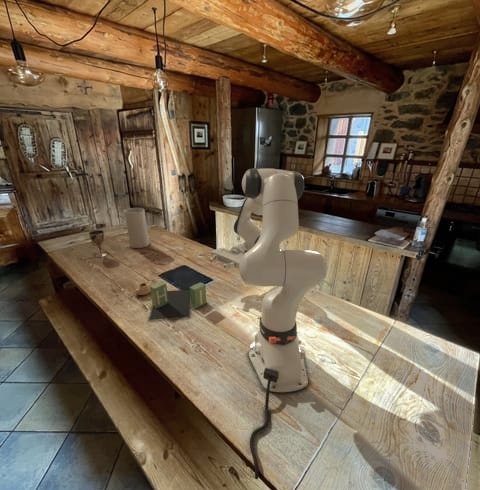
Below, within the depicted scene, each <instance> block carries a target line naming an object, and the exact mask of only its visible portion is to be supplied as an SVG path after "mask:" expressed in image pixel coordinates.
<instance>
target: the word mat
mask: <svg viewBox="0 0 480 490" xmlns="http://www.w3.org/2000/svg"><path fill="white" fill-rule="evenodd" d="M167 294H168V302H169V303H167V304H165V305H163V306H161V307H159V308H156V307H154V306H153V305H152V310H151V313H150V316H149V321H155V320H169V319H182V318H183V319H184V318H190V310H191V309H190V308H191V307H190V306H191V297H190V289H180V290H177V289H176V290H167Z"/></svg>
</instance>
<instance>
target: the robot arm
mask: <svg viewBox="0 0 480 490" xmlns="http://www.w3.org/2000/svg"><path fill="white" fill-rule="evenodd" d="M241 187H242V189H241V190H242V191H243V195H244V196H245V197H246V198H245V199H244V200H243V202H242V205H241V208H240V210H239V213H238V216H237V218H236V220H235V222H234V224H233V231H234V233H235V234H236V235H237V236H239V237H240V238H241V239H242V240H243V241H245V242H243V243H240V244H237V245H235V246H233V247H231V248H230V249H227V248H225V247H220V248H216V249H213V250H211V257H210V258H209V262H210V263H214V262H215V261H216V260H217V261H219V262H221V263H224V264H223V268H224V269H226V270H227V269H231V268H233V269H237V270H238V272H239V276H240V278H241V280H242V281H243V283H245V284H247V285H250V286H256V287H276V288H275V289H272V290H271V291H269V292H268V293H267V294H266V295H265V296H264V297H263V298H262V301H261V316H260V319H259V325H258V326H259V330H258V331H257V332H256V334H254V341H253V343H252V344H250V348H253V349H252V350H250V351H249V352H248V357H249V359H250V362H251V364H252V366H253V368H254V371H255V372H256V374H257V376H258V379H259V381H260V382H261V385H262V387H263V389H264V390H266V391H265V401H264V414H265V415H264V416H265V420H264V424H263V425H261V426H260V427H258V428H255V430H253V431H252V433H251V434H250V437H249V450H250V453H251V456H252V460H253V466H254V479H255V480H258V479H259V478H260V476H259V475H260V473H259V471H260V470H259V462H258V457H257V454H256V450H255V446H254V440H255V437H256V435H257V434H259V433H261V432H263V431H264V430H265V429H266V428H267V427H268V426H269V423H270V415H269V400H270V392H271V393H272V392H274V393H290V392H296V391H299V390H302V389H304V388H306V387H307V386H308V385H309V380H308V374H307V369H306V364H305V360H306V353H305V351H303V349H302V348H301V347H300V346H301V345H302V340H299V336H298V334H299V333H298V327H297V313H298V309H299V305H300V302H301V301H302V299H303V298H304V296H306V294H307V293H308V292H309V291H310V290H311V289H313V288H314V287H316V286H318V285H320V284H321V283H322V282H323V281H324V279H325V278H326V275H327V270H328V269H327V262H326V259H325V258H324V257H323V255H322V254H321V253H319V252H317V251H312V250H306V249H282V248H280V244H282V243H284V242H285V241H287V240H290V239H291V238H293V237H295V235H297V233H298V231H299V228H300V221H299V203H298V202H299V201H298V200H299V199H300V198H301V197H302V196H303V193H304V190H305V179H304V176H303V175H302V173H301V172H299V171H295V170H291V171H290V170H285V169H277V168H257V167H253V168H249V169H247V170H246V171H245V172H244V174H243V177H242V180H241ZM252 214H254V215H256V216H262V222H261V223H262V224H261V227H259V226H258V225H257V224H256V223H255V222H254V221H253V220H252V218H251V215H252Z"/></svg>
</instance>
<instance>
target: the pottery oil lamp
mask: <svg viewBox="0 0 480 490" xmlns="http://www.w3.org/2000/svg"><path fill="white" fill-rule="evenodd" d="M156 283H158V281H157V280H156V279H151V280H148V281H147V280H146V281H144V282H141V283H138V284H136V285H135V286H134V287H133V289H132V292H133V293H134V294H136V295H139V296H146V295H149V294H150V293H151V291H150V286H151V285H153V284H156Z"/></svg>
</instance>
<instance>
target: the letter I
mask: <svg viewBox="0 0 480 490" xmlns="http://www.w3.org/2000/svg"><path fill="white" fill-rule="evenodd" d="M189 290H190V306H191V307H193V308H194V309H198V308H200V307H202V306H204V305H206V304H207V287H206V284H205V283H203V282H202V281H201V282H198V283H196V284H193V285H191V286H189Z"/></svg>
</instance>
